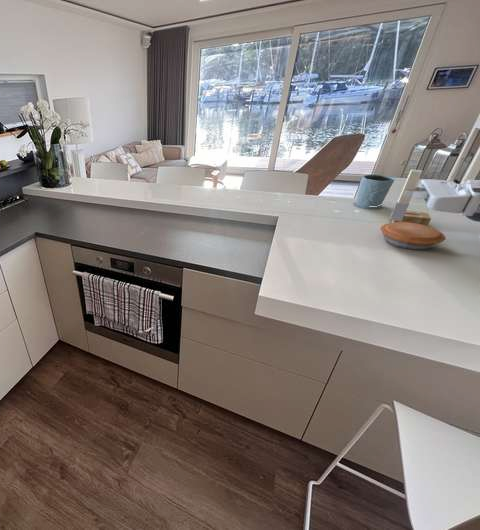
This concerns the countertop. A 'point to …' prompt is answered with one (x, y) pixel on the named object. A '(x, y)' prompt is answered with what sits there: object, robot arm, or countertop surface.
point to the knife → (404, 201)
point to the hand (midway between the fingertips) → (403, 191)
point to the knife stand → (416, 218)
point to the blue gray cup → (373, 190)
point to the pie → (411, 235)
